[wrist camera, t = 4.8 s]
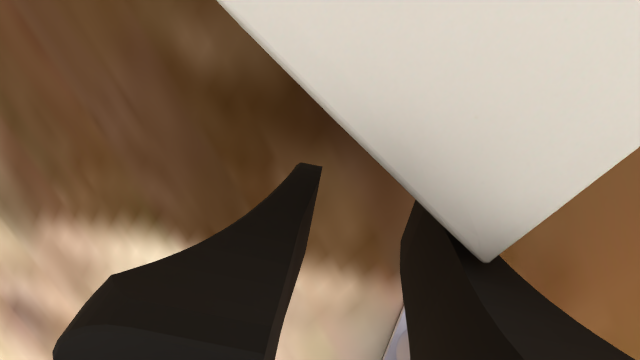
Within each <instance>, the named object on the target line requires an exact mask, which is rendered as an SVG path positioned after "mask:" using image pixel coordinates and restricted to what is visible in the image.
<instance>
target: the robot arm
mask: <svg viewBox="0 0 640 360" xmlns="http://www.w3.org/2000/svg"><path fill="white" fill-rule="evenodd" d="M321 171H322V167H321V166H316V165H311V164H306V163H299V164H298V165H296V167H295V168H294V169H293V171H292V172H291V173H290V174H289V176H288V177H287V178H286V179H285V180H284V181H283V182H282V183H281V184H280V185H279V186H278V187H277V188H276V189H275V190H274V191H273V192H272V193H271V194H270V195H269V196H268V197H267V198H266V199H264V200H263V201H262V202H261V203H260V204H258V205H257V206H256V207H255V208H254V209H252V210H251V211H250V212H249V213H247V214H246V215H245V216H243V217H242V218H240V219H239V220H238V221H236V222H235V223H233V224H231V225H230V226H228V227H227V228H225V229H224V230H222V231H220V232H218V233H217V234H215V235H213V236H211V237H210V238H208V239H206V240H204V241H202V242H200V243H199V244H196V245H194V246H192V247H190V248H188V249H185V250H183V251H181V252H178V253H176V254H173V255H171V256H168V257H166V258H163V259H160V260H158V261H155V262H152V263H149V264H146V265H143V266H140V267H136V268H133V269H130V270H127V271H124V272H121V273H117V274H113V275H111V276H110V277H109V278H108V279H107V280H106V281H105V283H104V284H103V285H102V286H101V287H100V288H99V289H98V290H97V291H96V292H95V293H94V294H93V295H92V296H91V297H90V299H89V300H88V301H87V302H86V303H85V304H84V306H83V307H82V308H81V310H80V311H79V312H78V314H77V315H76V316H75V318H74V319H73V320H72V322H71V323H70V324H69V326H68V327H67V328H66V330H65V331H64V332H63V334H62V335H61V336H60V338H59V339H58V340H57V343H56V345H55V347H54V350H53V360H275V356H276V351H277V347H278V342H279V337H280V333H281V329H282V325H283V322H284V318H285V315H286V312H287V308H288V305H289V302H290V299H291V296H292V293H293V290H294V286H295V283H296V280H297V277H298V274H299V271H300V268H301V264H302V261H303V258H304V255H305V251H306V246H307V241H308V236H309V231H310V226H311V221H312V216H313V211H314V206H315V201H316V196H317V191H318V186H319V181H320V176H321ZM400 275H401V284H402V292H403V300H404V306H403V309H402V311H401V314H400V316H399V319H398V321H397V324H396V326H395V329H394V332H393V334H392V337H391V339H390V342H389V344H388V347H387V349H386V352H385V354H384V357H383V359H382V360H635V359H633V358H632V357H630V356H628V355H627V354H625V353H624V352H622V351H620V350H619V349H617V348H616V347H614V346H613V345H611V344H610V343H608V342H607V341H605V340H603V339H602V338H600V337H599V336H597V335H596V334H594V333H593V332H591V331H590V330H589V329H587V328H586V327H584V326H583V325H581V324H580V323H578V322H577V321H576V320H574V319H573V318H572V317H570V316H569V315H568V314H566V313H565V312H564V311H562V310H561V309H560V308H558V307H557V306H556V305H554V304H553V303H552V302H550V301H549V300H548V299H547V298H545V297H544V296H543V295H542V294H540V293H539V292H538V291H537V290H536V289H535V288H533V287H532V286H531V285H530V284H529V283H528V282H527V281H525V280H524V279H523V278H522V277H521V276H520V275H519V274H518V273H516V272H515V271H514V270H513V269H512V268H511V267H510V266H509V265H508V264H507V263H506V262H505V261H504V260H503V259H502V258H501V257H500V256H499V255H498V256H497V257H495V258H494V259H493V260H492V261H490V262H489V263H483V262H482V261H480V260H479V259H478V258H477V257H476V256H475V255H473V254H472V253H471V252H470V251H469V250H468V249H467V248H466V247H465V246H464V245H463V244H462V243H461V242H460V241H459V240H457V239H456V238H455V237H454V236H453V235H452V234H451V233H450V232H449V231H448V230H447V229H446V228H445V227H444V226H443V225H441V224H440V223H439V222H438V221H437V220H436V219H435V218H434V217H433V216H432V215H431V214H430V213H429V212H428V211H427V210H426V209H425V208H424V207H423V206H422V205H421V204H420V203H419V202H418V201H417V200H415V203H414V206H413V208H412V211H411V214H410V217H409V220H408V222H407V225H406V228H405V231H404V233H403V236H402V239H401V247H400Z"/></svg>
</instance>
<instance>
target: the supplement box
mask: <svg viewBox="0 0 640 360" xmlns="http://www.w3.org/2000/svg"><path fill="white" fill-rule="evenodd" d="M217 1H218V2H219V4H220V5H221V6H222V7H223V8H224V9H225V10H226V11H227V12H228V13H229V14H230V15H231V16H232V17H233V18H234V19H235V20H236V21H237V22H238V23H239V25H240V26H241V27H242V28H243V29H244V30H245V31H246V32H247V33H248V34H249V35H250V36H251V37H252V38H253V39H254V40H255V41H256V42H257V43H258V44H259V45H260V46H261V47H262V48H263V49H264V50H265V51H266V52H267V53H268V54H269V55H270V56H271V57H272V58H273V59H274V60H275V61H276V62H277V63H278V64H279V65H280V66H281V67H282V68H283V69H284V70H285V71H286V72H287V73H288V74H289V75H290V76H291V77H292V78H293V79H294V80H295V81H296V82H297V83H298V84H299V85H300V86H301V87H302V88H303V89H304V90H305V91H306V92H307V93H308V94H309V95H310V96H311V97H312V98H313V99H314V100H315V101H316V102H317V103H318V104H319V105H320V106H321V107H322V108H323V109H324V110H325V111H326V112H327V113H328V114H329V115H330V116H331V117H332V118H333V119H334V120H335V121H336V122H337V123H338V124H339V125H340V126H341V127H342V128H343V129H344V130H345V131H346V132H347V133H348V134H350V135H351V136H352V137H353V138H354V139H355V140H356V141H357V142H358V143H359V144H360V145H361V146H362V147H363V148H364V149H365V150H366V151H367V152H368V153H369V154H370V155H371V156H372V157H373V158H374V159H375V160H376V161H377V162H378V163H379V164H380V165H381V166H382V167H383V168H384V169H386V170H387V171H388V172H389V173H390V174H391V175H392V176H393V177H394V178H395V179H396V180H397V181H398V182H399V183H400V184H401V185H402V186H403V187H404V188H405V189H406V190H407V191H408V192H409V193H410V194H411V195H412V196H413V197H414V198H415V199H416V200H417V201H418V202H419V203H420V204H421V205H422V206H423V207H424V208H425V209H426V210H427V211H428V212H429V213H430V214H431V215H432V216H433V217H434V218H435V219H436V220H437V221H438V222H439V223H440V224H441V225H443V226H444V227H445V228H446V229H447V230H448V231H449V232H450V233H451V234H452V235H453V236H454V237H455V238H456V239H457V240H459V241H460V242H461V243H462V244H463V245H464V246H465V247H466V248H467V249H468V250H469V251H470V252H471V253H472V254H473V255H475V256H476V257H477V258H478V259H479V260H480V261H482V262H483V263H489V262H490V261H492V260H493V259H494V258H495V257H497V256H498V255H499V254H500V253H502V252H503V251H504V250H506V249H507V248H508V247H510V246H511V245H512V244H513V243H515V242H516V241H517V240H519V239H520V238H521V237H523V236H524V235H525V234H527V233H528V232H529V231H531V230H532V229H533V228H534V227H536V226H537V225H538V224H540V223H541V222H542V221H544V220H545V219H546V218H547V217H549V216H550V215H551V214H553V213H554V212H555V211H557V210H558V209H559V208H560V207H562V206H563V205H564V204H566V203H567V202H568V201H569V200H571V199H572V198H573V197H575V196H576V195H577V194H578V193H580V192H581V191H582V190H584V189H585V188H586V187H587V186H589V185H590V184H591V183H593V182H594V181H595V180H597V179H598V178H599V177H601V176H602V175H603V174H604V173H606V172H607V171H608V170H610V169H611V168H612V167H614V166H615V165H616V164H617V163H619V162H620V161H621V160H623V159H624V158H625V157H627V156H628V155H629V154H630V153H632V152H633V151H634V150H636V149H637V148H638V147H639V146H640V0H217Z"/></svg>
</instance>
